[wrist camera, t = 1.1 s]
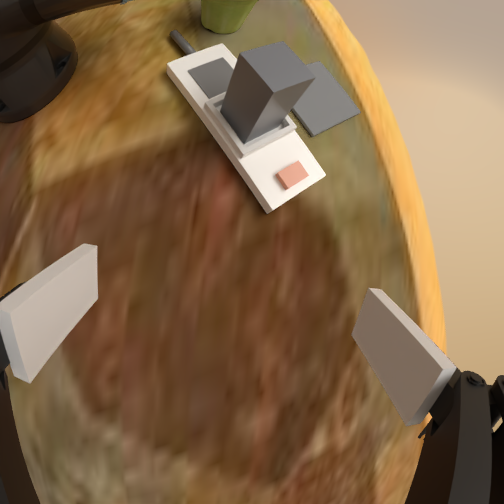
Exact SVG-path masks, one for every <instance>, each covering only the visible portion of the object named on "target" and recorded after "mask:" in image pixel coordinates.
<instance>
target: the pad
mask: <svg viewBox="0 0 504 504" xmlns="http://www.w3.org/2000/svg"><path fill="white" fill-rule="evenodd" d="M306 66H307V68H308V69H309V70H310V71H311V72H312V73H313V74H314V76H315V77H316V78H315V79H314V81H313V82H312V83H311V84H310V86H309V87H308V88H307V90H306V91H305V92H304V93H303V95H302V96H301V97H300V99H299V100H298V101H297V103H296V104H295V105H294V107H293V108H292V109H291V110H292V111H293V112H294V114H295V115H296V116H297V118H298V119H299V120H300V122H301V123H302V124H303V126H304V127H305V128H306V130H307V131H308V132H309V134H310V135H311V137H314V136H316V135H318V134H320V133H322V132H324V131H325V130H327V129H329V128H331V127H333V126H335V125H337V124H339V123H341V122H343V121H345V120H348V119H350V118H352V117H354V116H356V115H358V114H359V113H361V112H360V110H359V109H358V108H357V106H356V105H355V104H354V102H353V101H352V100H351V98H350V97H349V96H348V94H347V93H346V92H345V91H344V89H343V88H342V87H341V86H340V84H339V83H338V82H337V81H336V80H335V78H334V77H333V76H332V75H331V74H330V72H329V71H328V70H327V69H326V68H325V67H324V65H323V64H322V63H321V62H320V61H318V62H314V63H311V64H307V65H306Z"/></svg>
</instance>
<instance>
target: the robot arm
mask: <svg viewBox="0 0 504 504" xmlns="http://www.w3.org/2000/svg"><path fill="white" fill-rule="evenodd" d="M128 1H133V0H0V122H4V123H10V122H16V121H19V120H22V119H24V118H27V117H29V116H31V115H32V114H34V113H36V112H37V111H39V110H40V109H42V108H43V107H44V106H46V105H47V104H48V103H49V102H50V101H52V100H53V99H54V98H55V97H56V96H57V95H58V94H59V93H60V92H61V90H62V89H63V88H64V87H65V85H66V84H67V83H68V81H69V80H70V78H71V76H72V75H73V73H74V70H75V68H76V65H77V60H78V54H77V50H76V47H75V44H74V41H73V40H72V38H71V37H70V36H69V35H68V34H67V33H66V32H65V31H64V30H63V29H62V28H61V27H60V26H59V25H58V24H57V23H56V22H55V21H54V20H55V19H58V18H61V17H64V16H68V15H71V14H75V13H78V12H82V11H86V10H90V9H94V8H99V7H104V6H109V5H114V4H119V3H120V5H121V4H125V3H127V2H128ZM97 299H98V285H97V246H95V245H89V244H82V245H81V246H79V247H77V248H76V249H74V250H73V251H71V252H70V253H68V254H67V255H65V256H64V257H62V258H61V259H59V260H58V261H56V262H55V263H53V264H52V265H50V266H49V267H47V268H46V269H44V270H43V271H41V272H40V273H39V274H37V275H36V276H34V277H33V278H31V279H30V280H29V281H27V282H24V283H21V284H19V285H17V286H16V287H14V288H13V289H12V290H11V291H9V292H8V293H6V294H5V296H2V297H1V298H0V504H40V501H39V499H38V497H37V494H36V492H35V489H34V486H33V484H32V481H31V478H30V475H29V472H28V469H27V466H26V463H25V460H24V457H23V453H22V450H21V446H20V442H19V438H18V434H17V430H16V426H15V421H14V416H13V411H12V406H11V400H10V393H9V386H8V379H7V375H6V372H5V368H6V367H7V366H8V365H9V363H10V365H11V368H12V371H13V374H14V376H15V377H17V378H19V379H21V380H23V381H26V382H28V383H31V382H32V380H33V379H34V378H35V376H36V375H37V374H38V372H39V371H40V370H41V368H42V367H43V366H44V364H45V363H46V362H47V360H48V359H49V358H50V356H51V355H52V354H53V352H54V351H55V350H56V349H57V347H58V346H59V345H60V344H61V342H62V341H63V340H64V339H65V337H66V336H67V335H68V334H69V332H70V331H71V330H72V329H73V328H74V326H75V325H76V324H77V323H78V321H79V320H80V319H81V318H82V317H83V316H84V314H85V313H86V312H87V311H88V310H89V308H90V307H91V306H92V305H93V304H94V303H95V302H96V300H97ZM351 335H352V337H353V338H354V340H355V341H356V343H357V345H358V346H359V348H360V349H361V351H362V353H363V354H364V356H365V357H366V359H367V361H368V362H369V364H370V366H371V367H372V369H373V371H374V372H375V374H376V376H377V377H378V379H379V381H380V382H381V384H382V386H383V387H384V389H385V391H386V392H387V394H388V396H389V397H390V399H391V401H392V403H393V404H394V406H395V408H396V409H397V411H398V413H399V415H400V416H401V418H402V420H403V422H404V423H405V425H406V426H410V425H415V424H419V423H421V422H422V421H423V419H424V418H425V417H426V415H427V414H428V412H429V413H430V414H431V416H432V419H431V420H430V422H429V423H428V424H427V426H426V427H425V428H424V429H423V431H422V432H421V433H420V435H419V436H418V438H421V437H422V435H424V434H425V438H424V439H423V440H424V443H423V447H422V451H421V455H420V458H419V462H418V465H417V469H416V472H415V475H414V478H413V481H412V484H411V487H410V490H409V493H408V496H407V499H406V501H405V504H504V375H500V376H498V377H497V379H496V381H495V382H494V384H493V385H487V384H486V382H485V380H484V379H483V378H482V377H481V376H479V375H478V374H476V373H474V372H471V371H464V372H460V370H459V369H458V368H457V367H456V366H455V365H454V364H453V363H452V361H451V360H450V359H449V358H448V357H447V356H446V355H445V354H444V353H443V352H442V351H441V350H440V349H439V347H438V346H437V345H436V344H435V343H434V342H433V341H432V340H431V339H430V338H429V337H428V336H427V335H426V334H425V333H424V332H423V331H422V330H421V329H420V328H419V327H418V326H417V325H416V324H415V323H414V322H413V321H412V320H411V319H410V318H409V317H408V316H407V315H406V314H405V313H404V312H403V311H402V310H401V309H400V308H399V307H398V306H397V305H396V304H395V303H394V302H393V301H392V300H391V299H390V298H389V297H388V296H387V295H386V294H385V293H384V292H383V291H382V290H381V289H374V288H368V290H367V293H366V296H365V299H364V302H363V305H362V307H361V310H360V313H359V316H358V319H357V321H356V324H355V327H354V329H353V332H352V334H351ZM501 417H502V420H503V422H502V424H501V425H500V426H499V428H498V429H497V430H496V431H495V432H493V429H492V428H493V427H494V425H495V424H496V423H497V421H498V420H499V419H500V418H501Z"/></svg>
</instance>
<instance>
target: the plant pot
mask: <svg viewBox="0 0 504 504" xmlns="http://www.w3.org/2000/svg"><path fill="white" fill-rule="evenodd" d="M257 1H259V0H201V23H202V25H203V26H204V27H205V28H207V29H210V30H212V31H213V32H215V33H221V34H228V33H233V32H235V31H237V30H238V29H239V28H240V27H241V26H242V24H243V23H244V21H245V19H246V17H247V16H248V14H249V13H250V11H251V10H252V8H253V6H254V5H255V3H256V2H257Z"/></svg>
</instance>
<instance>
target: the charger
mask: <svg viewBox="0 0 504 504" xmlns="http://www.w3.org/2000/svg"><path fill="white" fill-rule="evenodd" d="M315 78H316V77H315V76H314V74H313V73H312V72H311V71H310V70H309V69H308V68H307V66H306V65H305V64H304V63H303V62H302V61H301V60H300V59H299V57H298V56H297V55H296V54H295V53H294V52H293V51H292V50H291V49H290V48H289V47H288V46H287V45H286V44H285V43H284V41H282V42H277V43H273V44H270V45H266V46H262V47H258V48H255V49H251V50H248V51H245V52H241V53H240V54H239V56H238V59H237V62H236V65H235V68H234V71H233V73H232V76H231V79H230V82H229V85H228V88H227V91H226V94H225V97H224V100H223V103H222V107H221V110H220V112H221V114H222V115H223V116H224V118H225V119H226V120H227V122H228V123H229V124H230V126H231V127H232V128H233V130H234V131H235V132H236V134H237V135H238V137H239V138H240V139H241V141H242V142H243V143H244V144H246V143H248V142H250V141H251V140H253V139H255V138H257V137H259V136H261V135H263V134H265V133H267V132H269V131H271V130H273V129H275V128H277V127H279V125H280V124H281V123H282V121H283V120H284V119H285V117H286V116H287V115H288V113H289V112H290V111H291V109H292V108H293V107H294V105H295V104H296V103H297V101H298V100H299V99H300V97H301V96H302V95H303V93H304V92H305V91H306V90H307V88H308V87H309V86H310V84H311V83H312V82H313V81H314V79H315Z"/></svg>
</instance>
